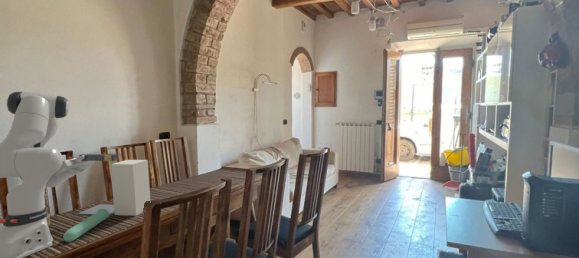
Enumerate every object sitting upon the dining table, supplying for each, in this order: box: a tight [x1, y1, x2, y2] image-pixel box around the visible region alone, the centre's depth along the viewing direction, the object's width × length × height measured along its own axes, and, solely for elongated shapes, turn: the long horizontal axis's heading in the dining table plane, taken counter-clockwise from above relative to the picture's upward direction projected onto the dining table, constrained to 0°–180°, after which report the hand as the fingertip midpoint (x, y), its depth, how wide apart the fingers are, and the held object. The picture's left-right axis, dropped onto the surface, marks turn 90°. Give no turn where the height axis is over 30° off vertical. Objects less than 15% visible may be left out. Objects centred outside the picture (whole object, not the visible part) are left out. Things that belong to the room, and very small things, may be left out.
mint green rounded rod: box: [62, 209, 110, 242], centre depth 133 cm, size 6×6×25 cm
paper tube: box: [44, 183, 51, 227], centre depth 137 cm, size 7×7×25 cm
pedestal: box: [110, 159, 151, 217], centre depth 155 cm, size 12×12×26 cm
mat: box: [77, 203, 115, 217], centre depth 159 cm, size 14×18×1 cm
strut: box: [78, 153, 119, 162], centre depth 157 cm, size 4×20×3 cm, turn 82°
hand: (87, 155), depth 158 cm, fingers closed on strut, 3 cm apart
